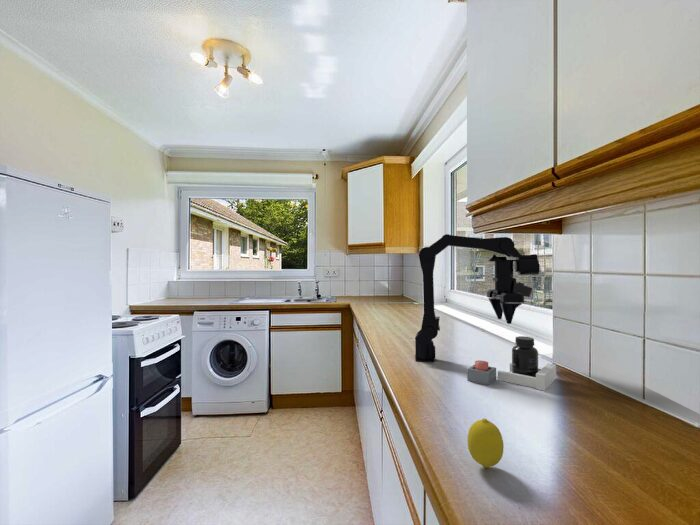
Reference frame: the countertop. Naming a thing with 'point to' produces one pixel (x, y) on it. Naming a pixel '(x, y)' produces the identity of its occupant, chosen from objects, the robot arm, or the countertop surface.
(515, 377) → the white u-shaped frame
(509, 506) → the countertop surface
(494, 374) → the plunger block
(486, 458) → the lemon
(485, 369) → the plunger
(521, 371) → the supplement bottle
